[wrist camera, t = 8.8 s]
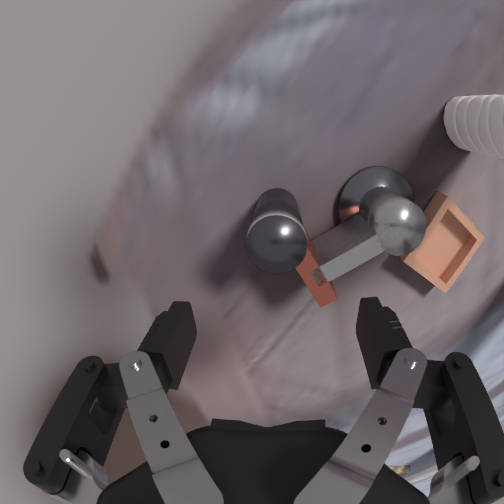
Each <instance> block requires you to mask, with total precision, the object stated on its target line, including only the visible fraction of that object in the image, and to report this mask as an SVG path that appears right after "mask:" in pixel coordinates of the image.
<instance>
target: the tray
mask: <svg viewBox="0 0 504 504" xmlns="http://www.w3.org/2000/svg"><path fill="white" fill-rule="evenodd" d="M423 213H424V215H425V218H426V224H427V227H426V233H425V236H424V239H423V241H422V242H421V244H420V245H419V246H418V247H417V248H416V249H415V250H414V251H413V252H411V253H409V254H407V255H404V256H399V257H400V258H401V259H402V261H403V262H404V263H406V264H407V265H409V266H410V267H411V268H413V269H414V270H415V271H417V272H418V273H419V274H421V275H422V276H423V277H425V278H426V279H427V280H429V281H430V282H431V283H432V284H434V285H435V286H436V287H438V288H439V289H440V290H441V291H443V292H444V293H446V292H447V290H448V289H449V288H450V286H451V285H452V284H453V283H454V281H455V280H456V279H457V277H458V276H459V275H460V273H461V272H462V270H463V269H464V268H465V266H466V265H467V263H468V262H469V261H470V259H471V258H472V256H473V255H474V253H475V252H476V250H477V249H478V247H479V246H480V244H481V242H482V241H483V239H484V237H483V235H482V234H481V233H480V232H479V231H478V229H477V228H476V227H475V226H474V225H473V224H472V222H471V221H470V220H469V219H468V218H467V217H466V216H465V215H464V213H463V212H462V211H461V210H460V209H459V208H458V207H457V206H456V205H455V204H454V203H453V202H452V201H451V200H450V199H449V198H448V197H447V196H446V195H444V194H441V193H439V192H437V191H436V193H435V194H434V196H433V197H432V199H431V201H430V202H429V204H428V205H427V207H426V209H425V210H424V212H423Z"/></svg>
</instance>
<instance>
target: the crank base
mask: <svg viewBox="0 0 504 504" xmlns="http://www.w3.org/2000/svg"><path fill="white" fill-rule="evenodd" d="M376 187H387V188H389V189H391V190H393V191H395V192H396V193H398V194H400V195H401V196H403V197H405V198H406V199H408V200H410V201H411V202H413V203H414V204H415V200H414V195H413V191H412V189H411V187H410V185H409V183H408V182H407V180H406V179H405V178H404V177H403V176H402V175H401V174H399V173H398V172H396V171H394V170H392V169H390V168H387V167H382V166H371V167H367V168H364V169H362V170H360V171H358V172H356V173H355V174H354V175H352V176H351V177H350V178H349V179H348V181H347V182H346V183H345V185H344V187H343V188H342V191H341V193H340V196H339V201H338V215H339V219H340V222H341V223H343V222H345V221H347V220H348V219H350V218H352V217H353V216H355V215H357V214H359V204H360V202H361V199H362V198H363V196H364V195H365V194H366V193H367V192H368V191H369V190H371V189H373V188H376Z"/></svg>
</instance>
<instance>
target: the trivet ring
mask: <svg viewBox="0 0 504 504" xmlns="http://www.w3.org/2000/svg"><path fill="white" fill-rule="evenodd" d="M388 467H389V468H391V469H392V470H393V471H394V472H396V473H397V474H398V475H400V476H403V475H405V474H407V473H408V472H410V468H409V466H388Z"/></svg>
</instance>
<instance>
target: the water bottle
mask: <svg viewBox="0 0 504 504" xmlns="http://www.w3.org/2000/svg"><path fill="white" fill-rule="evenodd" d="M444 111H445V113H444V126H445V128H446V132H447V134H448V136H449V138H450V140H451V141H452V142H453V143H454V144H455V145H456V146H457V147H459V148H461V149H463V150H467V151H472V152H477V153H481V154H487V155H489V156H493V157H498V158H501V159H504V95H480V96H460V97H454V98H452V99H451V100H450V101H449V102H448V103H447V104H446V107H445V110H444Z"/></svg>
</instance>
